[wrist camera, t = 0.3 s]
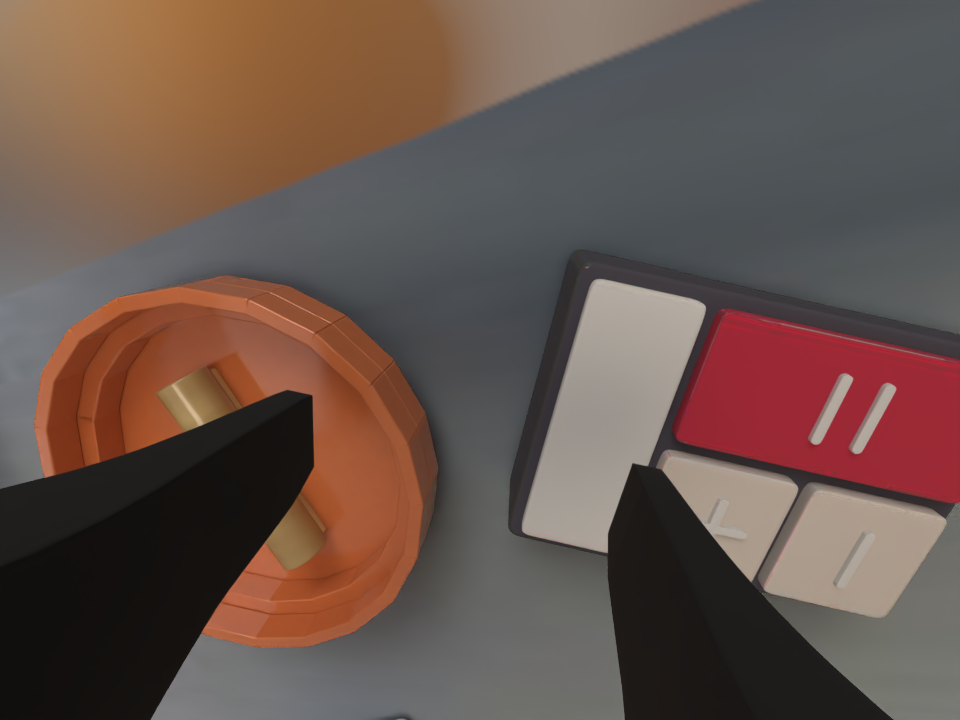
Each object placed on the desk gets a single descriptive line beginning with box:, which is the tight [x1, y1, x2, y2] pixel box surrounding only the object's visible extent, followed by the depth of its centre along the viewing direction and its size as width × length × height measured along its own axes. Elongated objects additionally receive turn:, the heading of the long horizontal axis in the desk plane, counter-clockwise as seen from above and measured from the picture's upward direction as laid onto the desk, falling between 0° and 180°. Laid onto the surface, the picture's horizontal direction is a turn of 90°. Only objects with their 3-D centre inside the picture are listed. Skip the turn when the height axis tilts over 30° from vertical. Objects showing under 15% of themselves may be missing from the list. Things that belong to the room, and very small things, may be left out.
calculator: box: [508, 250, 960, 618], centre depth 18 cm, size 11×4×15 cm
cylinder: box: [156, 366, 326, 570], centre depth 21 cm, size 10×2×2 cm, turn 28°
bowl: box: [34, 275, 438, 647], centre depth 22 cm, size 17×17×4 cm
